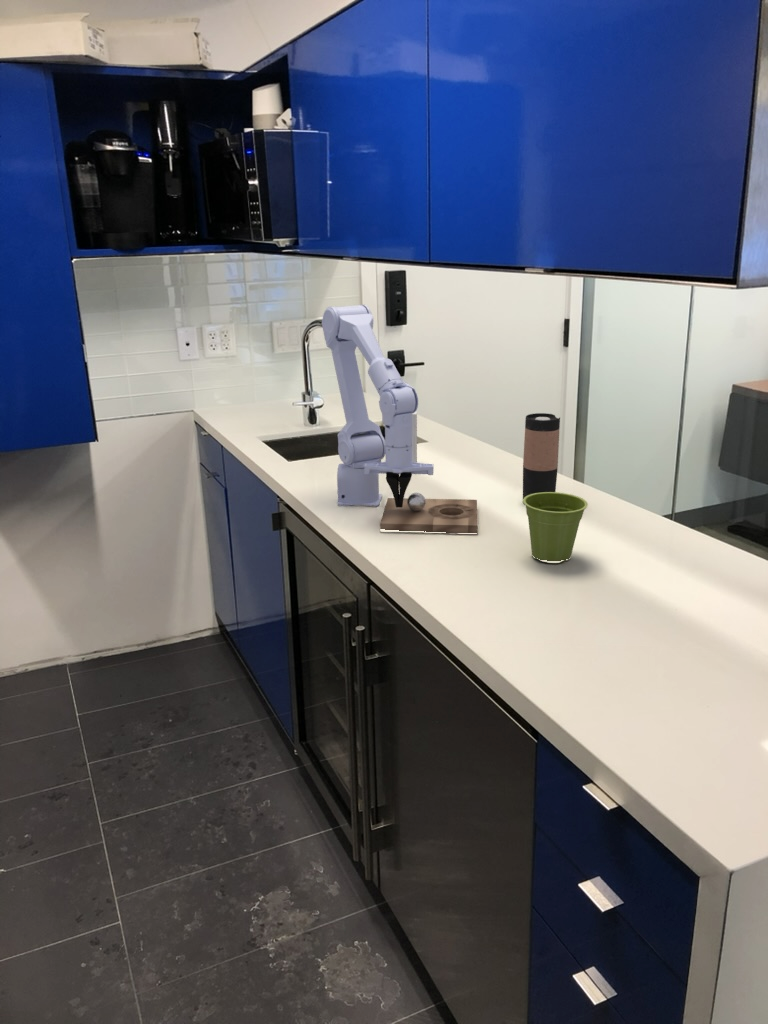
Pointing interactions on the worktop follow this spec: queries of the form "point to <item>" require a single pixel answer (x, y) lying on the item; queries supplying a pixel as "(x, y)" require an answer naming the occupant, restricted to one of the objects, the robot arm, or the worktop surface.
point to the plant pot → (553, 523)
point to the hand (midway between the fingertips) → (399, 506)
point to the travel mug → (540, 453)
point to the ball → (416, 501)
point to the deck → (432, 516)
